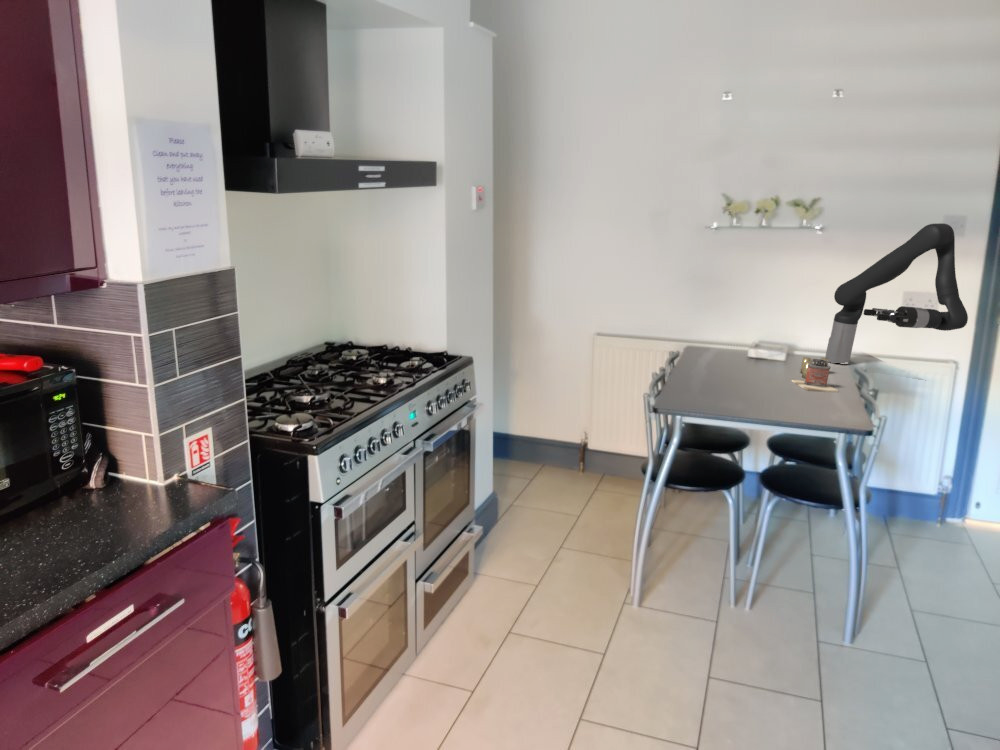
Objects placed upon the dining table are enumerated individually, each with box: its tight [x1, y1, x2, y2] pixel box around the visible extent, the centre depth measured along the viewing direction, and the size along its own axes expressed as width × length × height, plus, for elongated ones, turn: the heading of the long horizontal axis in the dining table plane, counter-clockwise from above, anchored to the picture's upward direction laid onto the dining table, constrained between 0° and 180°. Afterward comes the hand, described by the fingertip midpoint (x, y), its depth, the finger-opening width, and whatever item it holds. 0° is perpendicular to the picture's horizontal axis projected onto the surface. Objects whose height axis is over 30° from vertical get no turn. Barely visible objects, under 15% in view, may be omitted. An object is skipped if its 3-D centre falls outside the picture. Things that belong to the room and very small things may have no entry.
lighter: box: [804, 357, 831, 387], centre depth 298 cm, size 8×3×10 cm, turn 89°
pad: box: [791, 379, 839, 393], centre depth 300 cm, size 12×12×1 cm
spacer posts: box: [799, 356, 829, 380], centre depth 316 cm, size 11×14×6 cm
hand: (870, 314), depth 295 cm, fingers open, 8 cm apart
